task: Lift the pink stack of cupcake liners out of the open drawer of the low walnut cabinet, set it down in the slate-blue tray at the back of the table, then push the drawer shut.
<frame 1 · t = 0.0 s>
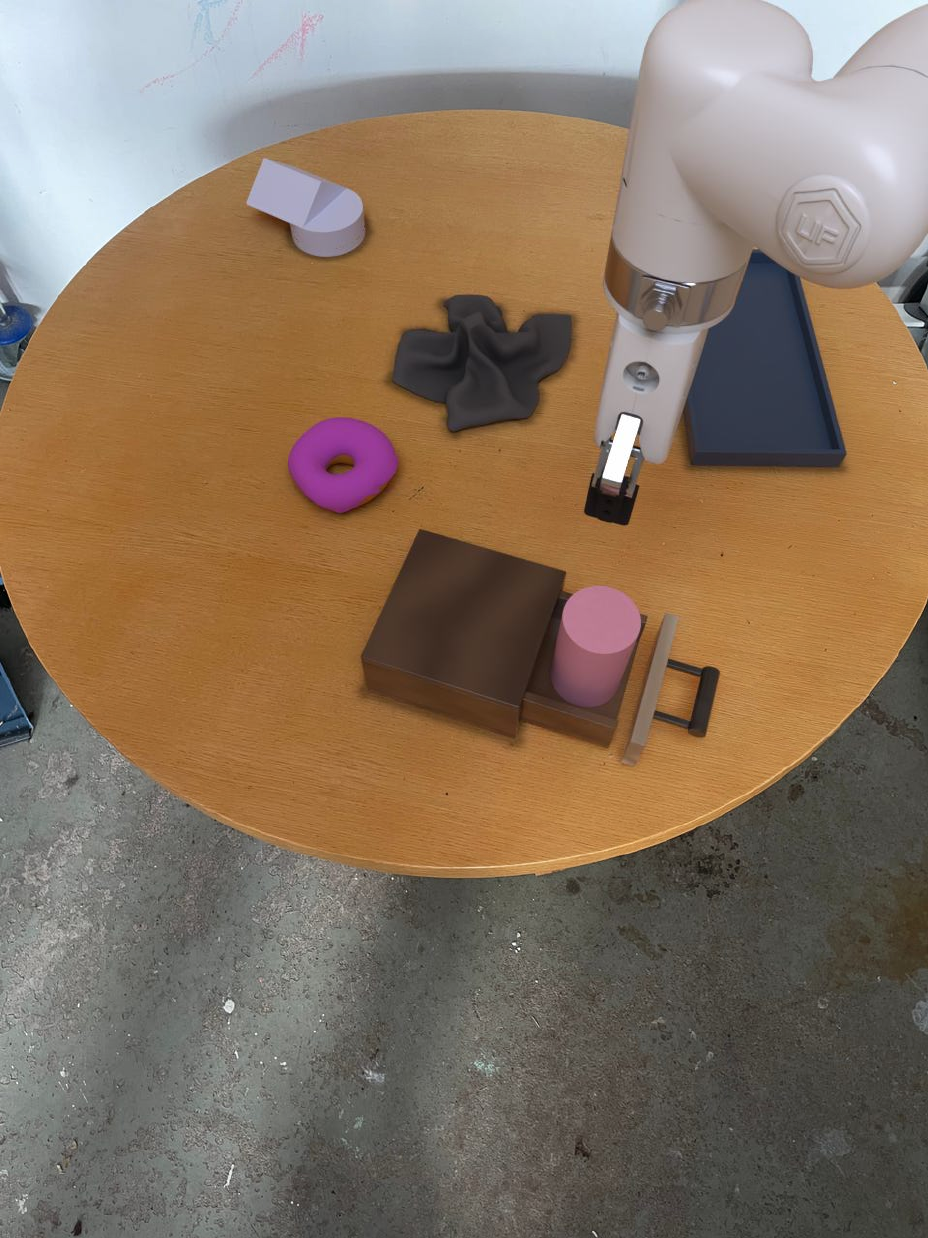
hand: (623, 466, 63), 20 cm above the table, tool pointing down, fingers open, 9 cm apart
cabinet: (465, 649, 78), on the table
tape dispenser: (316, 228, 107), on the table
liners: (585, 675, 75), point 2 cm above the table, touching drawer
donut: (345, 478, 88), on the table
tray: (742, 356, 97), on the table
drawer: (611, 676, 73), point 3 cm above the table, slide at 9.0 cm, touching liners
cloth: (486, 357, 97), on the table
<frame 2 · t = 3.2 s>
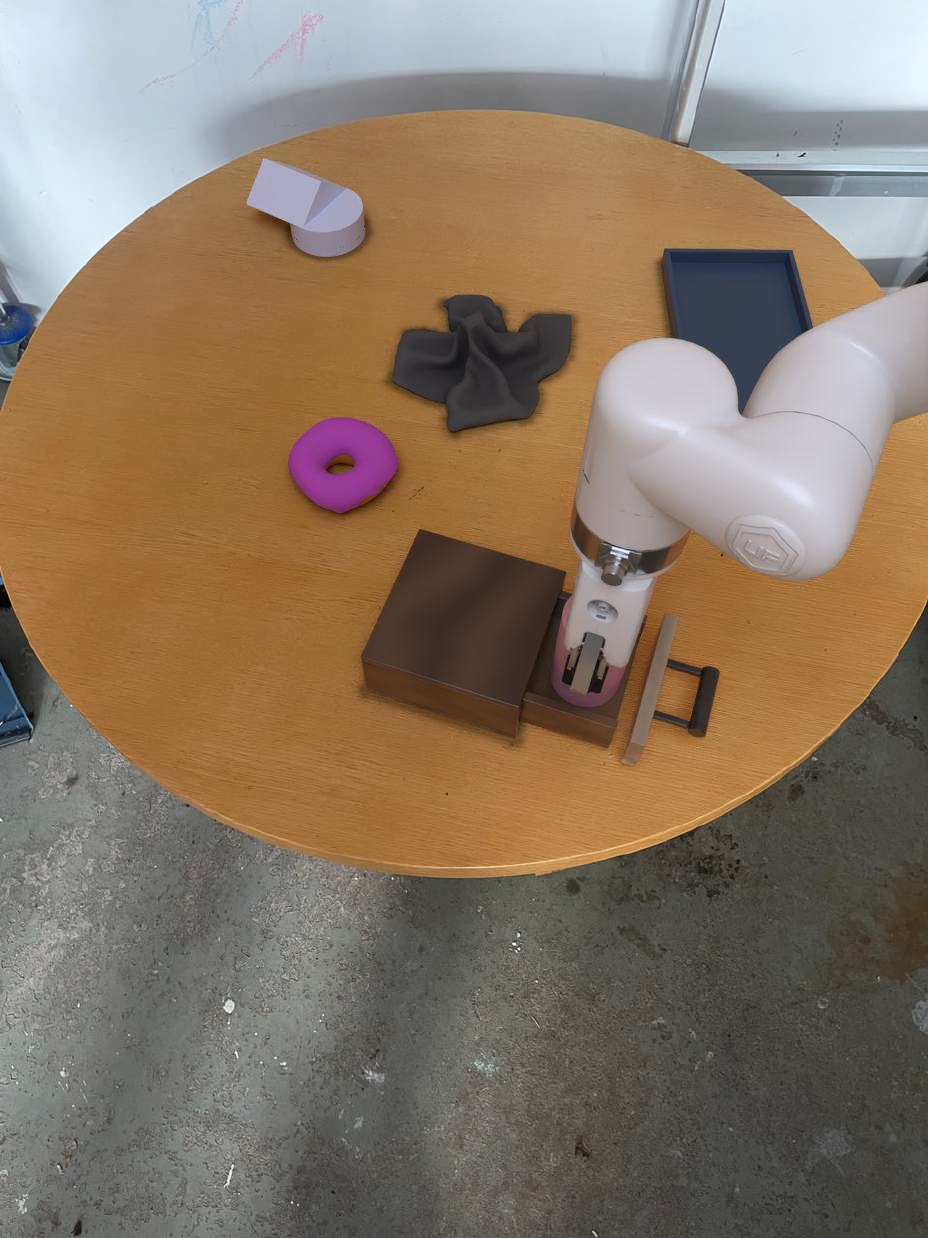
hand: (592, 649, 70), 7 cm above the table, tool pointing down, fingers closed on liners, 6 cm apart
liners: (585, 675, 75), point 2 cm above the table, touching drawer, gripper
everything else where it was.
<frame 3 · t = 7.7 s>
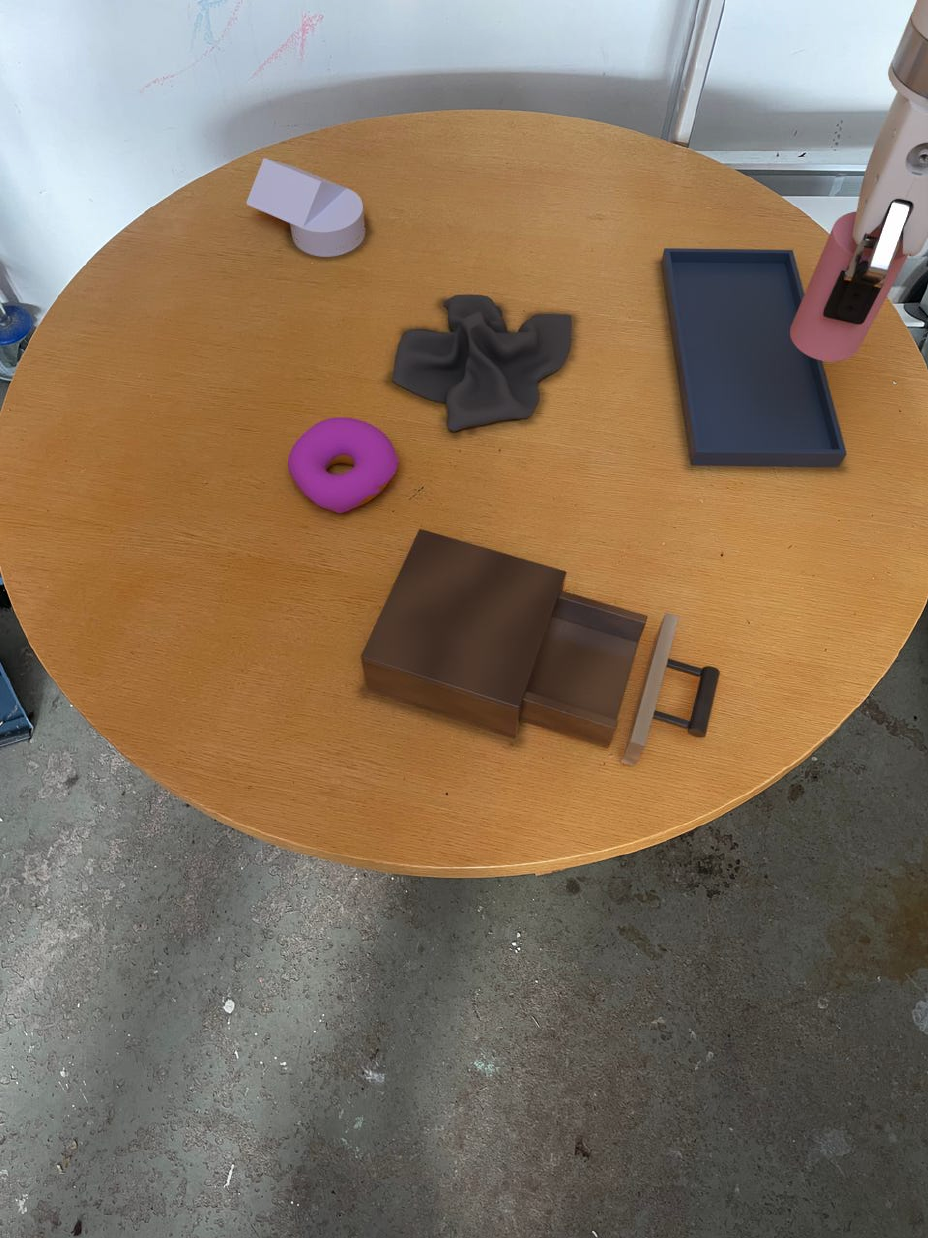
hand: (848, 289, 70), 21 cm above the table, tool pointing down, fingers closed on liners, 6 cm apart
liners: (824, 336, 75), point 16 cm above the table, touching gripper
drawer: (611, 676, 73), point 3 cm above the table, slide at 9.0 cm
everything else where it was.
when the fingers open (6 cm above the table, at t = 12.1 s): liners stays where it is, resting on tray.
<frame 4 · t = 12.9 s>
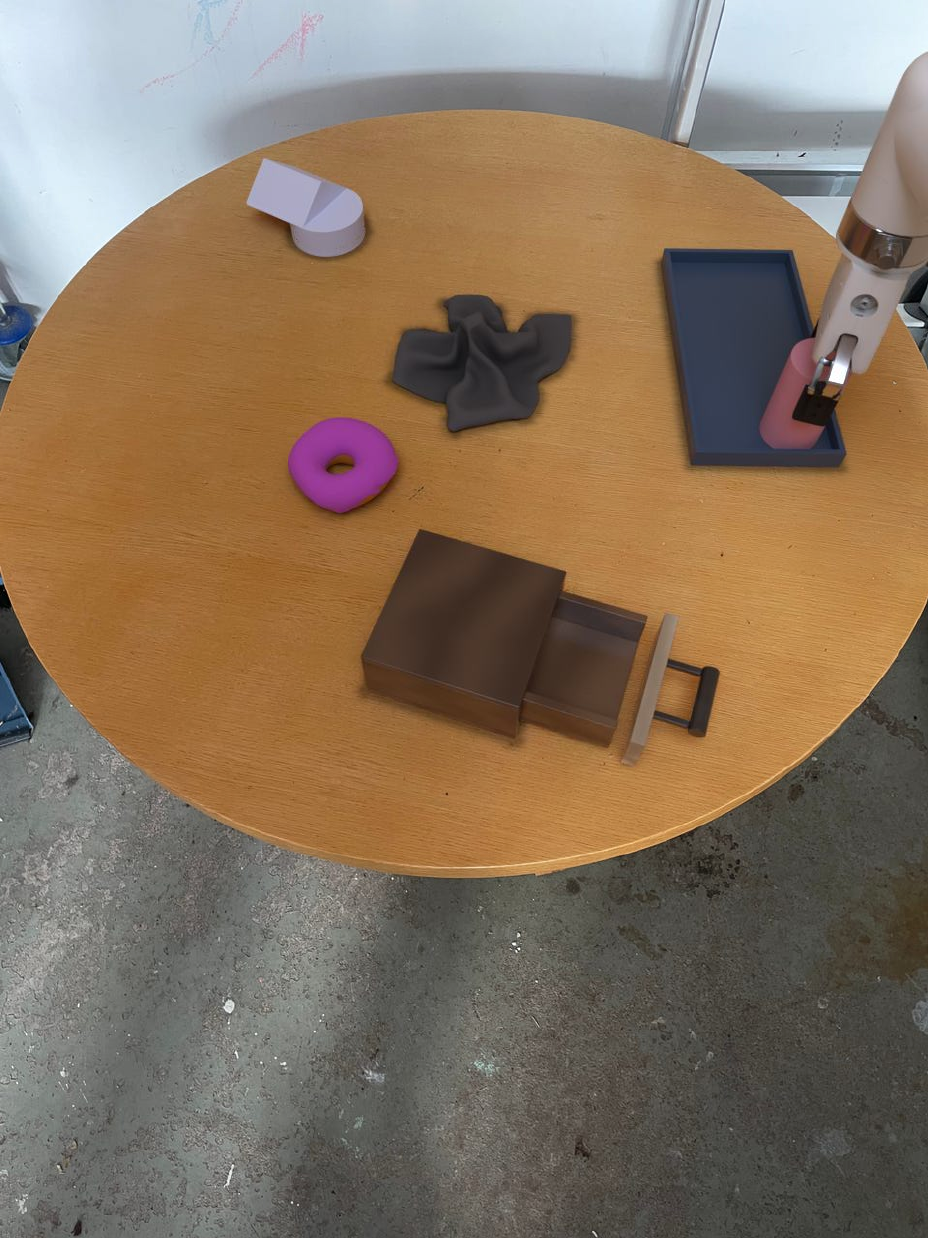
hand: (815, 385, 84), 8 cm above the table, tool pointing down, fingers open, 9 cm apart
liners: (788, 432, 90), point 1 cm above the table, touching tray
everything else where it was.
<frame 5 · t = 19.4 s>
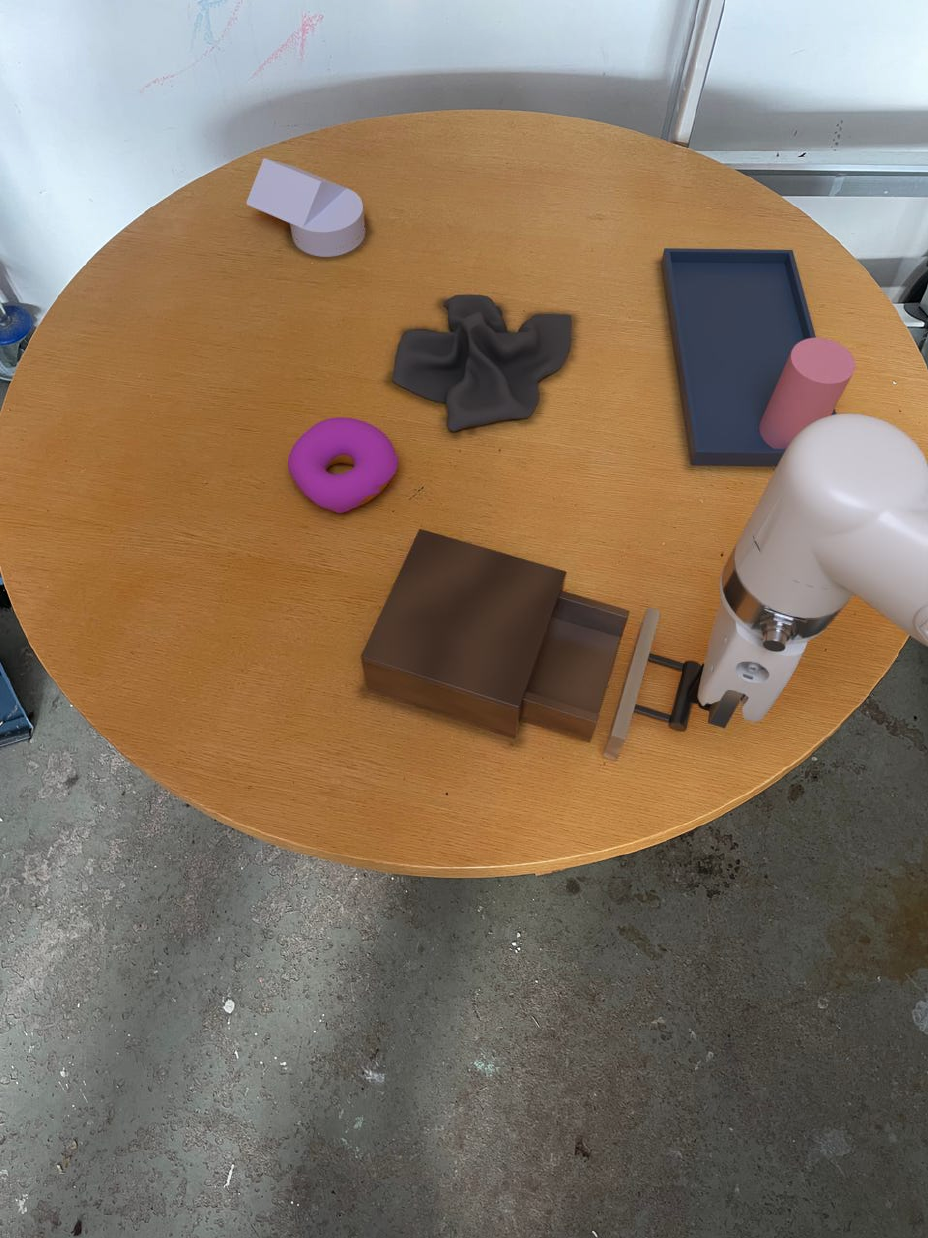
hand: (707, 698, 71), 5 cm above the table, tool pointing down, fingers closed
drawer: (593, 671, 74), point 3 cm above the table, slide at 7.4 cm, touching gripper
everything else where it was.
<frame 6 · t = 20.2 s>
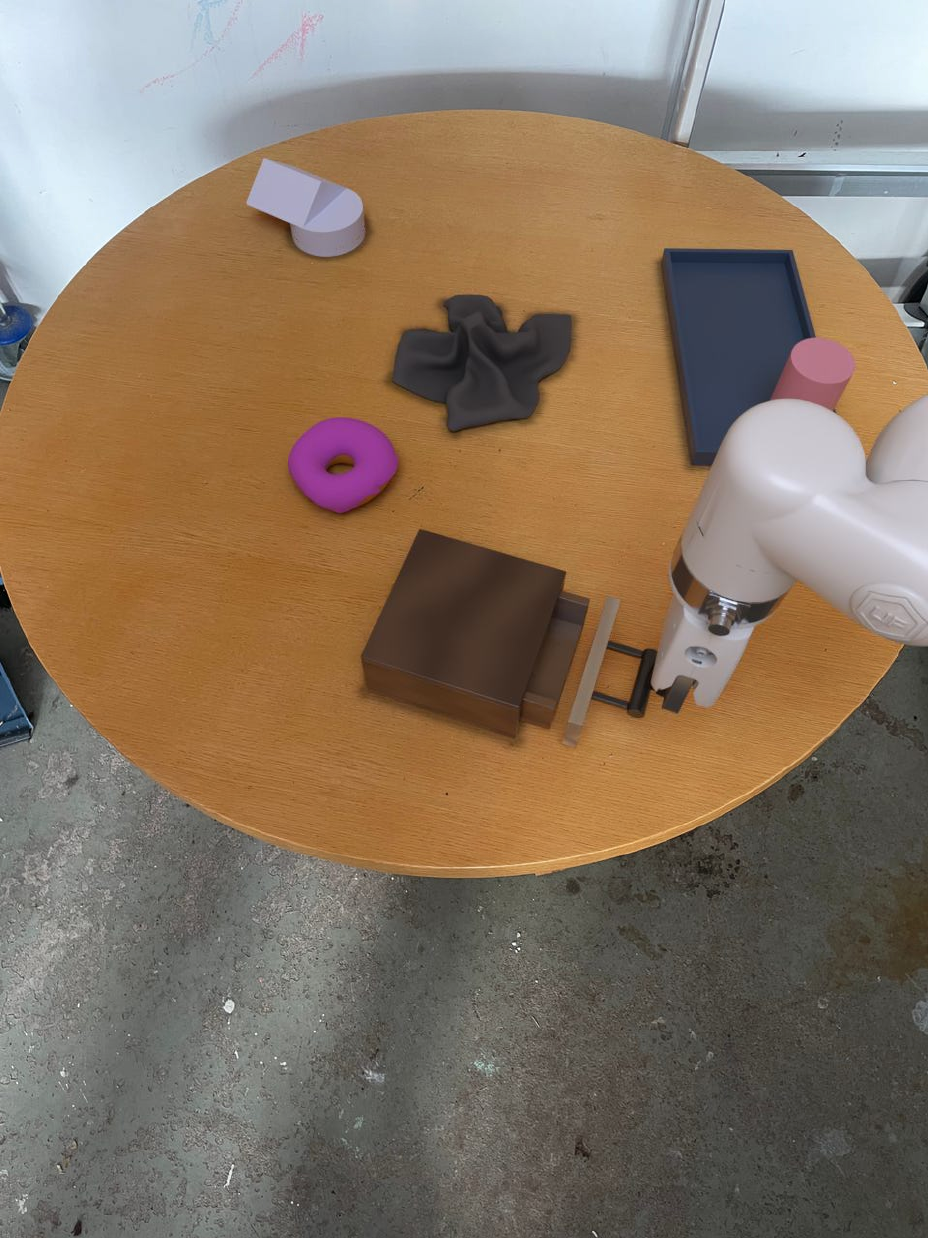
hand: (665, 685, 71), 5 cm above the table, tool pointing down, fingers closed
drawer: (553, 658, 74), point 3 cm above the table, slide at 3.9 cm, touching gripper
everything else where it was.
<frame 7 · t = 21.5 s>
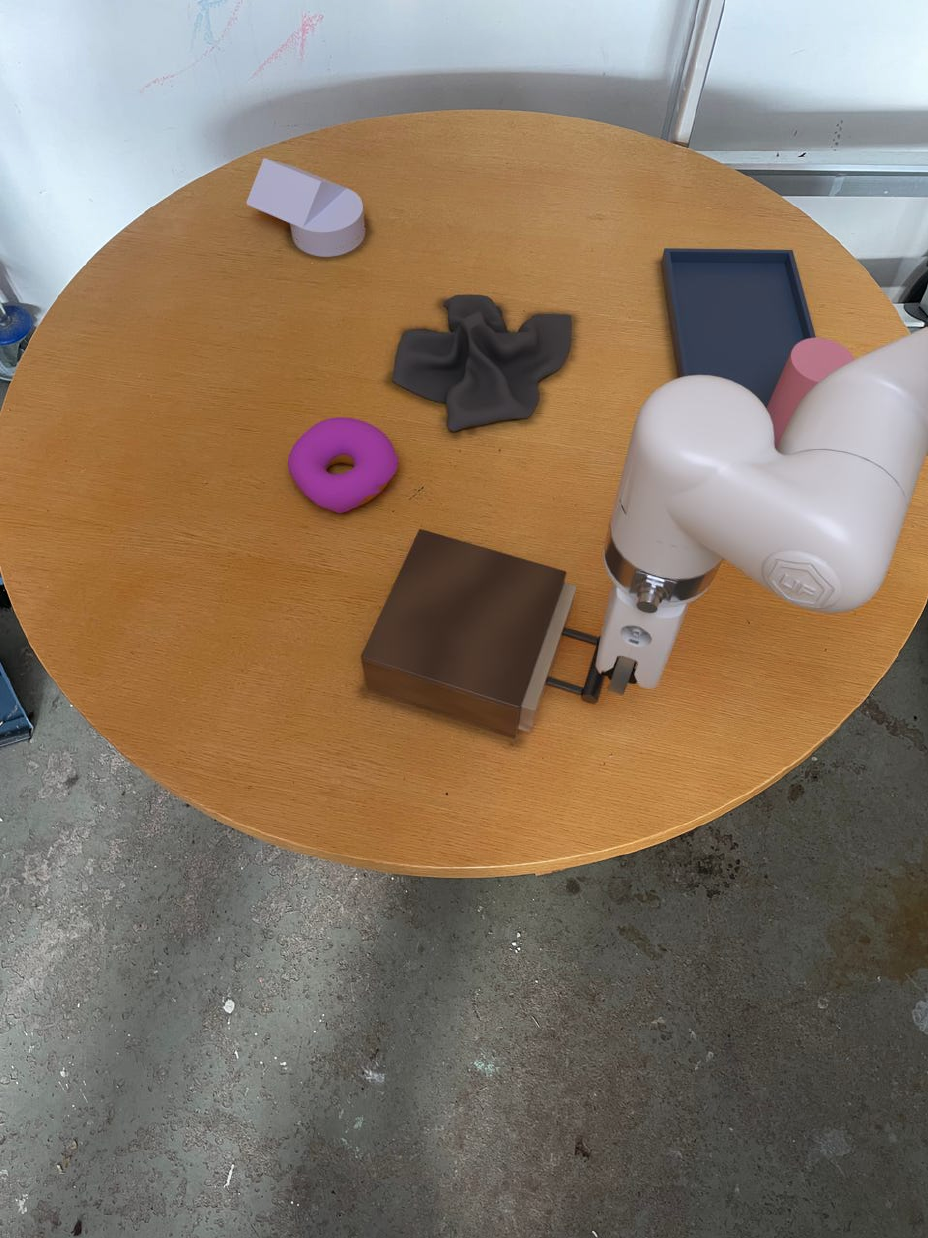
hand: (619, 671, 72), 5 cm above the table, tool pointing down, fingers closed
drawer: (510, 645, 75), point 3 cm above the table, slide at 0.0 cm, touching cabinet, gripper
everything else where it was.
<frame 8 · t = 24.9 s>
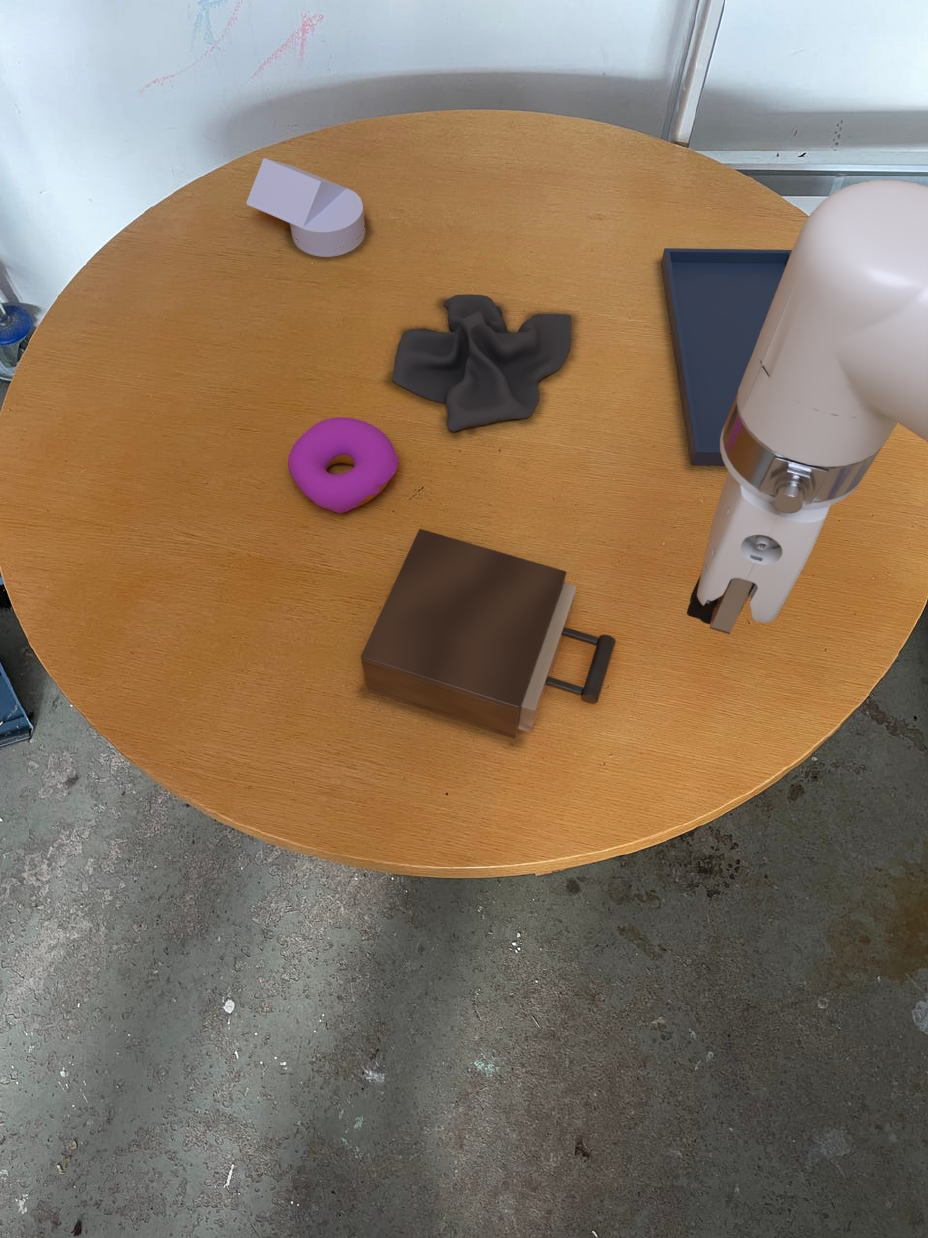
hand: (710, 612, 60), 17 cm above the table, tool pointing down, fingers closed
drawer: (510, 645, 75), point 3 cm above the table, slide at 0.0 cm, touching cabinet
everything else where it was.
at the end: liners inside the target area in the tray (0.1 cm from its centre), point 0.6 cm above the tray's base; liners tilted 0°; drawer slide at 0.0 cm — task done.
